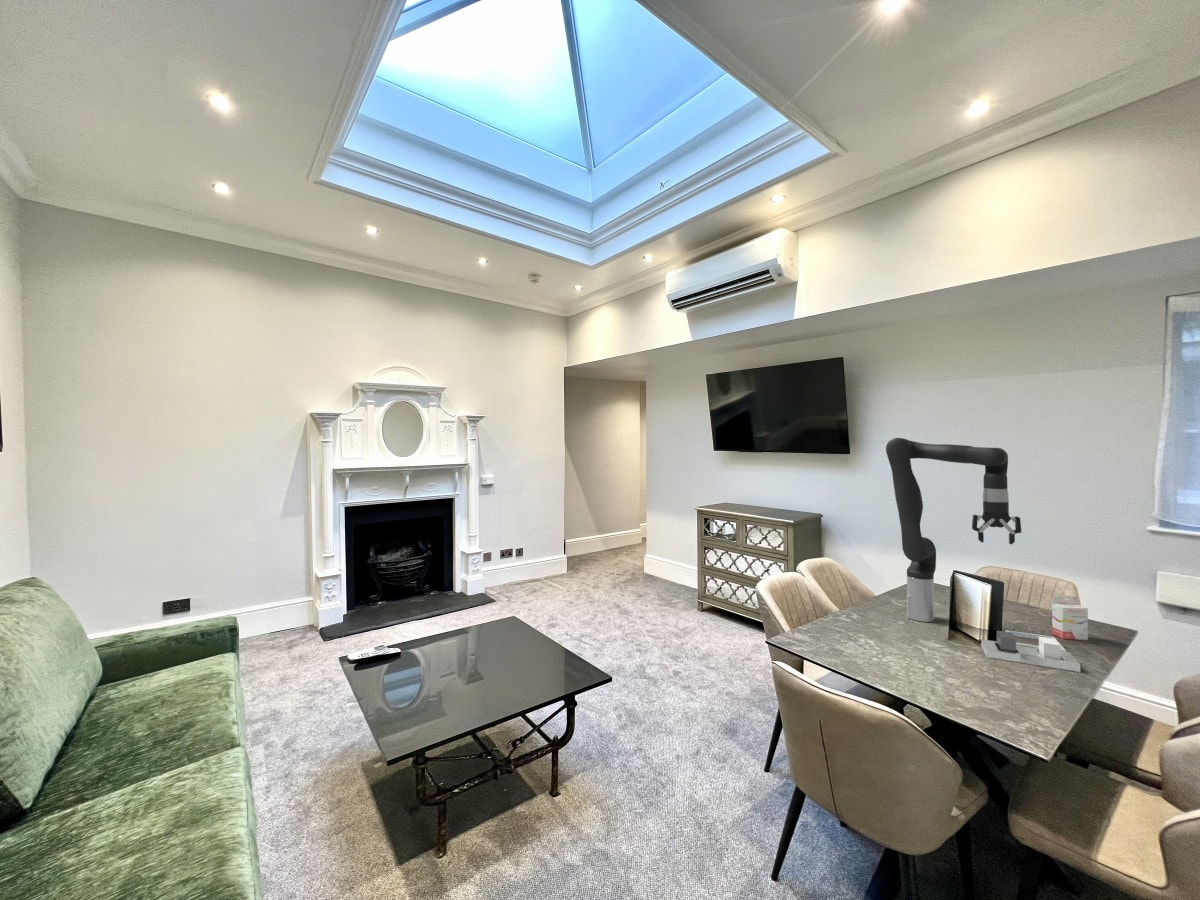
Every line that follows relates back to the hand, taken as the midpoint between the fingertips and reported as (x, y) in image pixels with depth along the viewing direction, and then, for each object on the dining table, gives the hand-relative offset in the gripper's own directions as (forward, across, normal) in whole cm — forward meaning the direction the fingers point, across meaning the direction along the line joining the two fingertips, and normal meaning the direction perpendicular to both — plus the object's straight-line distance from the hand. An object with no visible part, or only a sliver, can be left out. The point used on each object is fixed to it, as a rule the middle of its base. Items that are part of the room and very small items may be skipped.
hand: (996, 543), depth 181 cm
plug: (+34, +10, -23) cm, 42 cm away
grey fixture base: (+34, +4, -23) cm, 41 cm away
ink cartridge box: (+34, +22, +7) cm, 41 cm away
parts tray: (+34, +9, -7) cm, 36 cm away
